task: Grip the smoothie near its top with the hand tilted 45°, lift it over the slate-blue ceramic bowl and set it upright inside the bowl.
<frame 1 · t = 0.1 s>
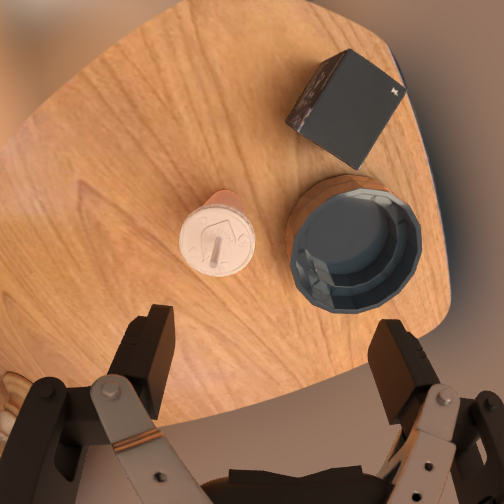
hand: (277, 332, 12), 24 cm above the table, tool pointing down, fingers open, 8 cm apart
candle holder: (26, 389, 54), on the table
bowl: (345, 233, 36), on the table
box: (324, 105, 30), on the table
smoothie: (225, 205, 35), on the table
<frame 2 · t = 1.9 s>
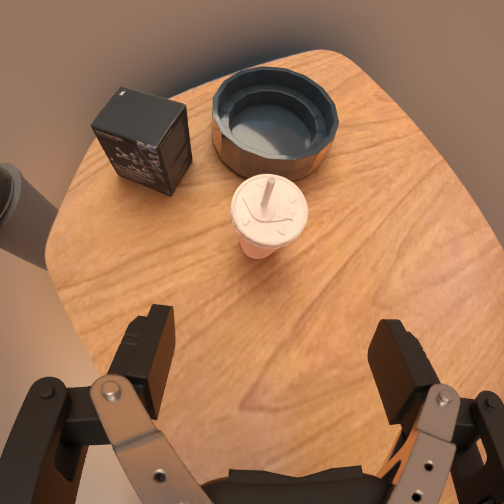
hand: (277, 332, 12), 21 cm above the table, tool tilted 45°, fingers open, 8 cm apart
bowl: (269, 137, 39), on the table
box: (155, 168, 36), on the table
smoothie: (257, 243, 35), on the table
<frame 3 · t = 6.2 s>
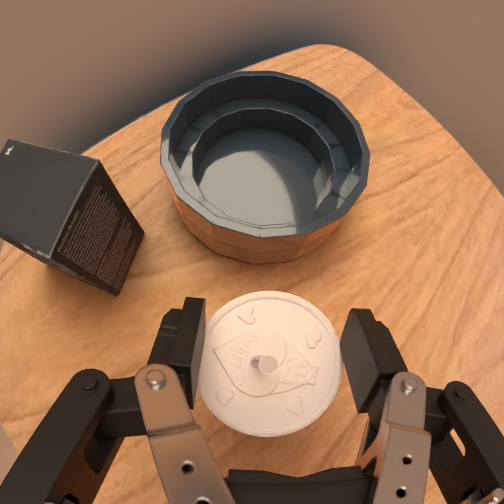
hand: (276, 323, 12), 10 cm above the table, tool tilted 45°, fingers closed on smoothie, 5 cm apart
bowl: (260, 181, 26), on the table
box: (93, 249, 24), on the table
smoothie: (255, 361, 22), on the table, touching gripper
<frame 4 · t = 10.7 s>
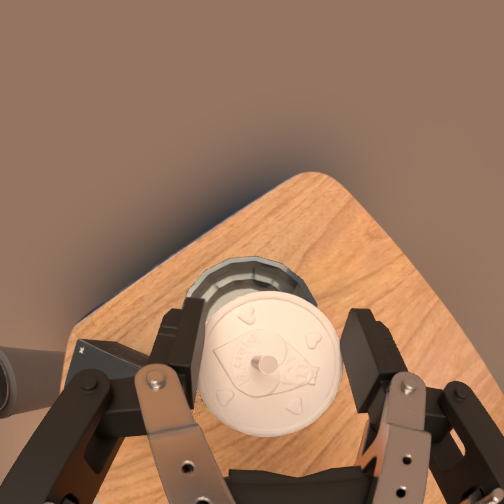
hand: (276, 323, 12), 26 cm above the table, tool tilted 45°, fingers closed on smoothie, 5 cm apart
bowl: (247, 328, 37), on the table
box: (136, 373, 35), on the table
smoothie: (255, 361, 22), point 15 cm above the table, touching gripper
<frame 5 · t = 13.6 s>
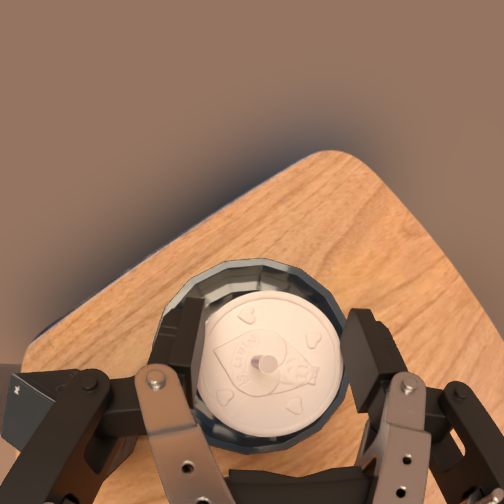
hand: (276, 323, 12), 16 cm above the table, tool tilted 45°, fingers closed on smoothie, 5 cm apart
bowl: (250, 356, 27), on the table
box: (104, 411, 24), on the table
smoothie: (255, 361, 22), point 5 cm above the table, touching gripper
when the fingers open (11 cm above the table, at t = 15.5 s): smoothie stays where it is, resting on bowl.
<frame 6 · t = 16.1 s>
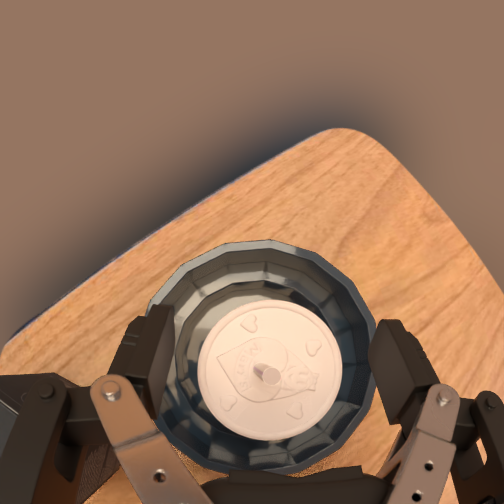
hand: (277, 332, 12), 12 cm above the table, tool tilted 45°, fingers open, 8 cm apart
bowl: (254, 359, 23), on the table
box: (86, 421, 20), on the table
smoothie: (255, 363, 22), resting on bowl
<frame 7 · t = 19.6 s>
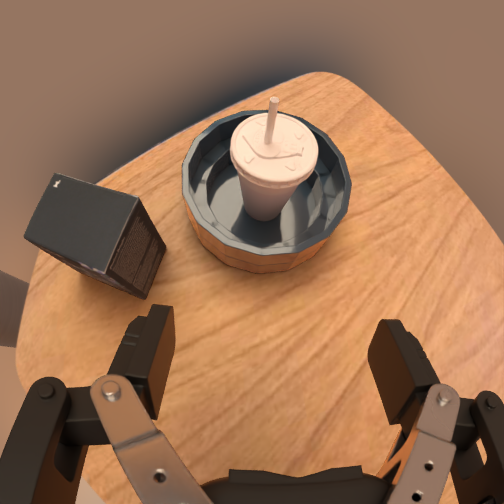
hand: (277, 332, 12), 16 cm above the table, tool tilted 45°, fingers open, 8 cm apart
bowl: (262, 204, 32), on the table
box: (122, 260, 29), on the table
smoothie: (262, 204, 31), resting on bowl
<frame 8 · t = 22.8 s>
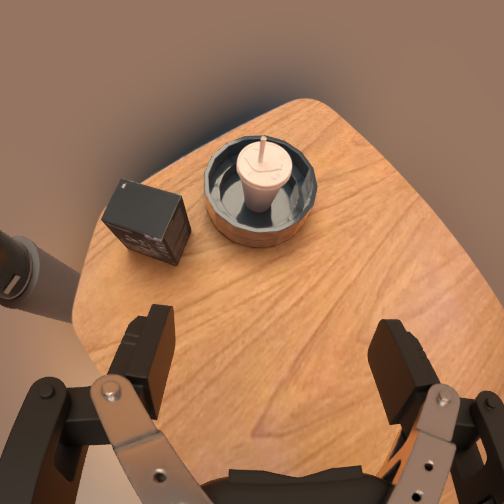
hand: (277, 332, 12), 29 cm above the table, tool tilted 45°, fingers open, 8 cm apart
bowl: (257, 200, 45), on the table
box: (159, 240, 43), on the table
smoothie: (258, 201, 45), resting on bowl
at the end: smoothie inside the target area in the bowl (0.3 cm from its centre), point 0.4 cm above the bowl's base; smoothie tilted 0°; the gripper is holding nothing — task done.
